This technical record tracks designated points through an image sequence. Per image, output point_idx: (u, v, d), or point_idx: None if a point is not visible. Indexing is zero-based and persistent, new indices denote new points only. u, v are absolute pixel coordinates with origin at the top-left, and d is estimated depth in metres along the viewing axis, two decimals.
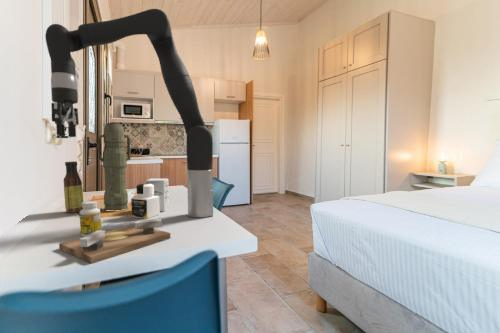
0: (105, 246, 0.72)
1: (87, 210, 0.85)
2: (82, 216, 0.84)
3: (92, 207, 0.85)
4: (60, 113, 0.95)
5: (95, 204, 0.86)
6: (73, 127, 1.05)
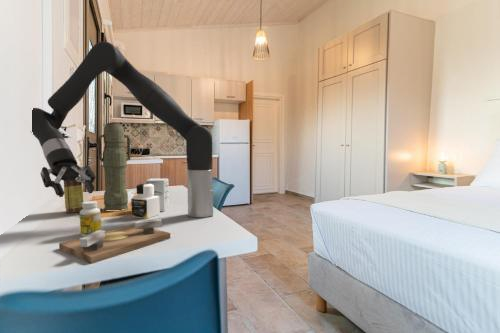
0: (105, 246, 0.72)
1: (87, 210, 0.85)
2: (82, 216, 0.84)
3: (92, 207, 0.85)
4: (46, 175, 0.87)
5: (95, 204, 0.86)
6: (87, 182, 0.95)
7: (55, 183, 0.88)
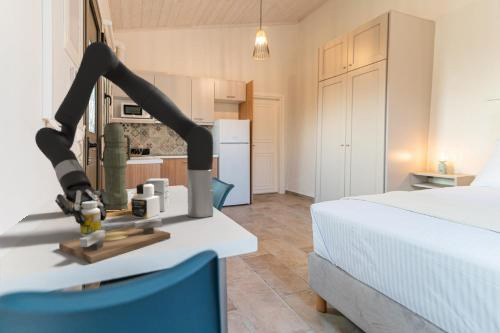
0: (105, 246, 0.72)
1: (87, 210, 0.85)
2: None
3: (92, 207, 0.85)
4: (64, 203, 0.83)
5: (95, 204, 0.86)
6: None
7: (76, 211, 0.84)
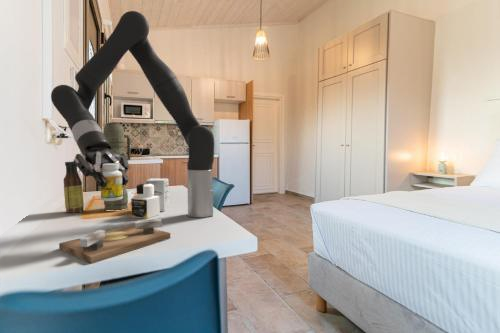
0: (105, 246, 0.72)
1: (108, 171, 0.77)
2: None
3: (114, 168, 0.78)
4: (84, 163, 0.75)
5: (117, 166, 0.78)
6: None
7: (97, 172, 0.76)
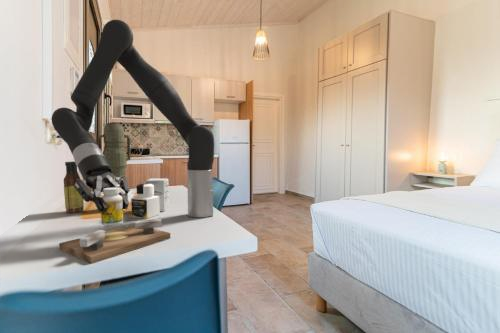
0: (105, 246, 0.72)
1: (109, 196, 0.78)
2: None
3: (115, 193, 0.78)
4: (85, 188, 0.76)
5: (117, 190, 0.79)
6: None
7: (97, 197, 0.76)
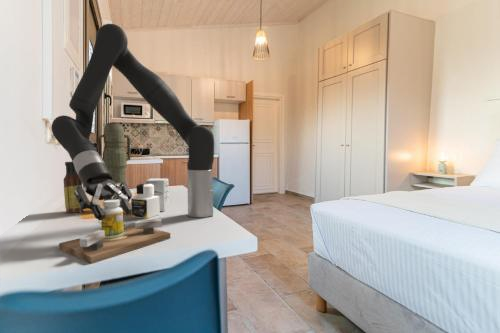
0: (105, 246, 0.72)
1: (109, 209, 0.78)
2: (104, 216, 0.77)
3: (115, 206, 0.78)
4: (83, 195, 0.76)
5: (117, 203, 0.79)
6: (123, 202, 0.82)
7: (94, 204, 0.76)
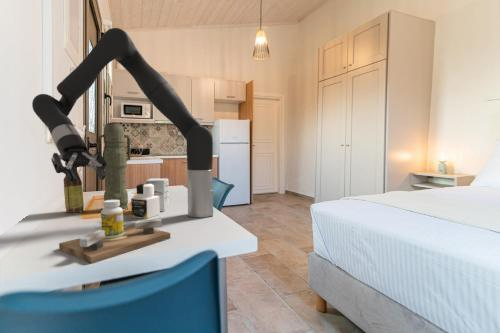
0: (105, 246, 0.72)
1: (109, 209, 0.78)
2: (104, 216, 0.77)
3: (115, 206, 0.78)
4: (58, 161, 0.85)
5: (118, 203, 0.79)
6: (98, 169, 0.93)
7: (67, 169, 0.85)
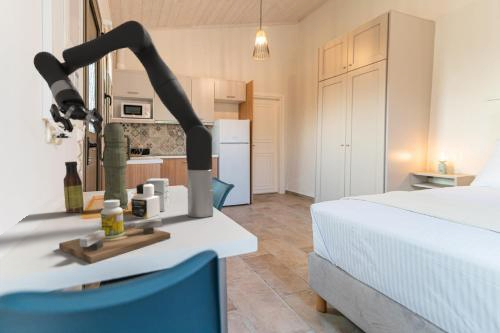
0: (105, 246, 0.72)
1: (109, 209, 0.78)
2: (104, 216, 0.77)
3: (115, 206, 0.78)
4: (56, 111, 0.89)
5: (117, 203, 0.79)
6: (95, 122, 0.96)
7: (64, 118, 0.89)
